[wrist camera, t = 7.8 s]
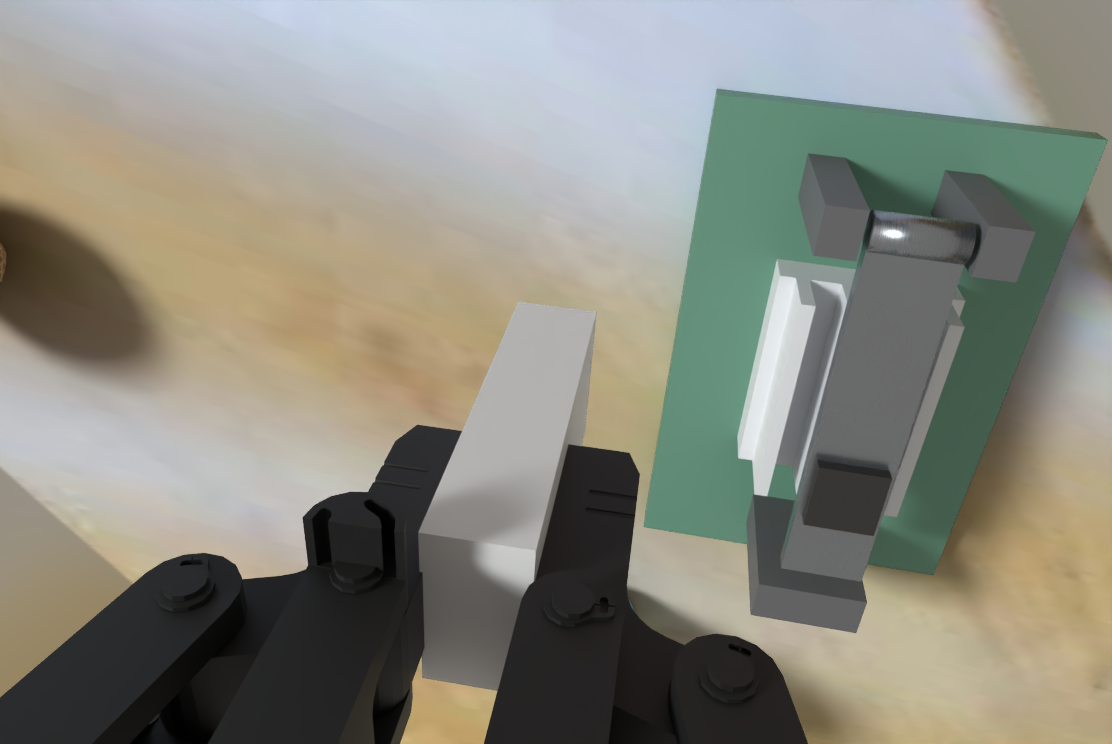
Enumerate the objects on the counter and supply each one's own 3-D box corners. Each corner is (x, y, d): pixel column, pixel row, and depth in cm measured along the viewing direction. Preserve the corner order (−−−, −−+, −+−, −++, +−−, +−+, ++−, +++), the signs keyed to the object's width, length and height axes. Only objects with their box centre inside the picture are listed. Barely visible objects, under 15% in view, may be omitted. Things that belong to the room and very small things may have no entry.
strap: (870, 204, 33) (878, 218, 31) (968, 216, 33) (981, 231, 31) (779, 551, 41) (782, 576, 39) (857, 564, 40) (863, 590, 39)
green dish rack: (716, 88, 38) (717, 136, 31) (1096, 132, 37) (1187, 193, 30) (645, 513, 50) (633, 617, 43) (928, 560, 49) (964, 675, 42)
